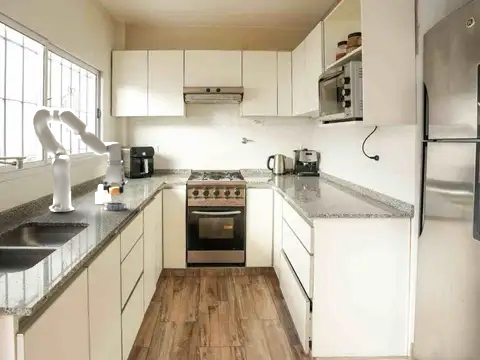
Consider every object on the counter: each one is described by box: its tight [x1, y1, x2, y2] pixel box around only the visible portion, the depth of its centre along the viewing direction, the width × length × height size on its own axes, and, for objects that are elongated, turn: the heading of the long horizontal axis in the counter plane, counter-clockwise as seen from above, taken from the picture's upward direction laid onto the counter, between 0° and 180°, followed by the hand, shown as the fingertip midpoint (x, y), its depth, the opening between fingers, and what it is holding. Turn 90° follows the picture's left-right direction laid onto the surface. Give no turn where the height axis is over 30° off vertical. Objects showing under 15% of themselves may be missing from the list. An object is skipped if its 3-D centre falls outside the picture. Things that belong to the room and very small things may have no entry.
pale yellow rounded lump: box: [109, 186, 123, 196], centre depth 281 cm, size 7×7×4 cm
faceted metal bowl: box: [103, 201, 127, 211], centre depth 282 cm, size 13×13×3 cm
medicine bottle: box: [95, 184, 112, 205], centre depth 303 cm, size 7×7×12 cm
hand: (115, 192), depth 281 cm, fingers closed on pale yellow rounded lump, 7 cm apart
